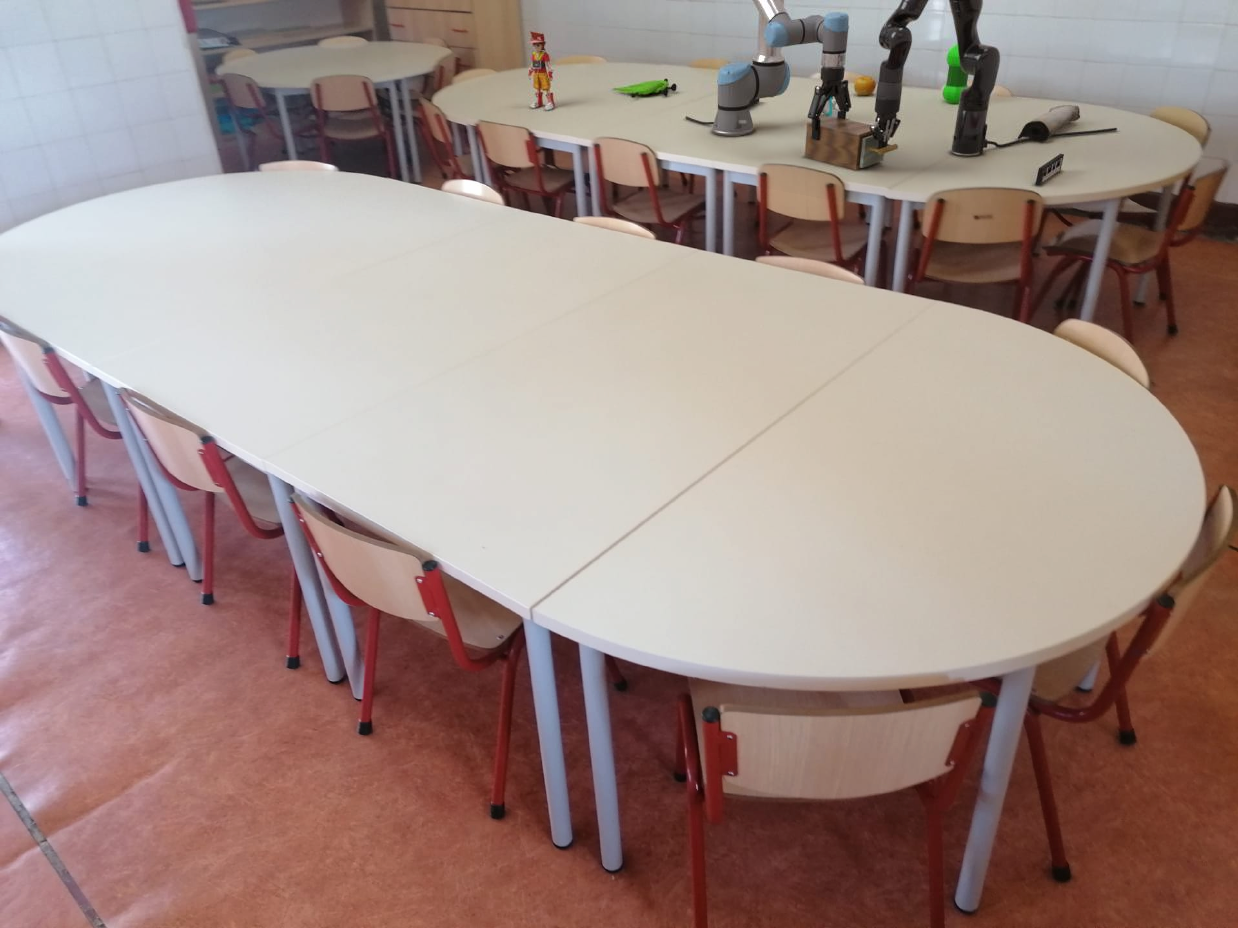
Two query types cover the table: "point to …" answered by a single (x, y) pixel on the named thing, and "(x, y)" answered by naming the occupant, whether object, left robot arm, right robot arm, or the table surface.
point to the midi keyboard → (1049, 169)
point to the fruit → (864, 85)
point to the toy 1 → (541, 71)
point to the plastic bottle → (954, 77)
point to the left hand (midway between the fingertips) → (827, 135)
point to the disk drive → (753, 102)
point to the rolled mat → (1049, 122)
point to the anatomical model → (831, 109)
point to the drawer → (872, 151)
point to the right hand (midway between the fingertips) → (882, 152)
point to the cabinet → (837, 142)
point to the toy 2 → (648, 88)
